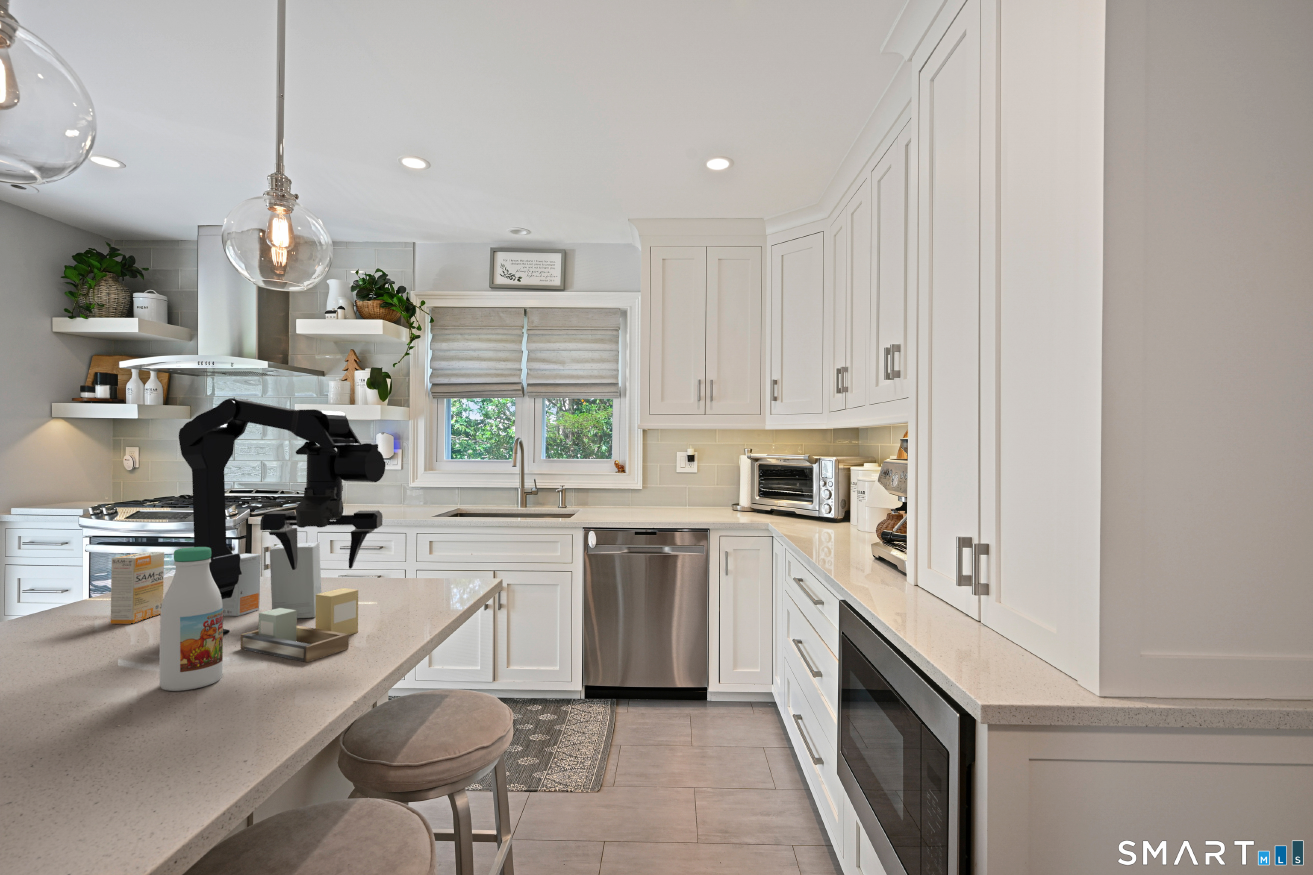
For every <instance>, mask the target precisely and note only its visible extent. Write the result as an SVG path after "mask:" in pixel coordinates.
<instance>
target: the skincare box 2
mask: <svg viewBox="0 0 1313 875" xmlns="http://www.w3.org/2000/svg"><path fill="white" fill-rule="evenodd" d="M297 551H298V561H297V568H296V569H295V570H292V568H291V565H290V562H289V560H288V557H287V554H286V552H285V549H284V547H283V545H282V543H280V544H277V545H275V546H273V547H272V548H270V549H269V564H270V570H269V571H270V590H271V592H270V593H271V595H270V596H271V610H273V609H277V608H284V609H291V610H297V619H309V618H316V594H320V593H322V577H321V574H322V573H321V570H322V569H321V550H320V542H319V541H315V542H313V541H312V542H299V543H298V542H297Z"/></svg>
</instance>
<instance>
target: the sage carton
mask: <svg viewBox="0 0 1313 875" xmlns="http://www.w3.org/2000/svg"><path fill="white" fill-rule="evenodd" d="M297 619H298V618H297V610H291V609H284V608H277V609H273V610H272V609H269V610H265V611H260V612H258V630H259V635H263V636H268V637H274V638H279V639H285V640H290V641H296V632H297V626H298V625H297V623H298V622H297V621H298V620H297Z"/></svg>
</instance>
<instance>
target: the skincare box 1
mask: <svg viewBox="0 0 1313 875" xmlns="http://www.w3.org/2000/svg"><path fill="white" fill-rule="evenodd" d="M239 554H240V557H241V558H240V570H241V572H242V574H241V575H239V581H238V583H237V584H236V585H235V588H234V591H233V594H232V597H231V598H226V599H222V607H223V616H224V617H225V616H226V617H228V616H229V617H230V616H231V617H239V616H242V615H245V614H249V613H253V612H257V611H259V610H260V607H261V606H260V599H261V598H260V597H261V596H260V595H261V594H260V593H261V564H262V563H261V561H262V560H261V554H260V553H259V554H258V553H239ZM256 610H257V611H256Z"/></svg>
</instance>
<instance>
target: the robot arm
mask: <svg viewBox="0 0 1313 875" xmlns="http://www.w3.org/2000/svg"><path fill="white" fill-rule="evenodd" d="M248 424H256V425H260V426H264V427H269V428H275V429H280V430H284V431H285V430H286V431H288V432H289V433H290V432H291V433H292V434H293V435H294V436H296V437H297V438H300V439H303V440H305V442H304V443H303V445H302V446H300V447H299V448H298V449H297V450H296V451H295V454H296V455H301V456H302V455H304V456H305V455H306V482H305V484H306V485H305V487H304V491H303V498H302V499H301V500H300V501H299V503H298V505H297V506H296V507H295V509H294V510H273V511H269V512H266V513H264V514H263V515H262V516H261V518H260V521H259V522H260V529H259V530H260V531H268V534H269V535H270V536H275V537H276V538H277V540H279V542H280V544H282V545H283V547H284V549H285V552H286V554H287V557H288V560H289V562H290V565H291V568H292V570H295V569H296V568H297V561H298V551H297V543H298V528H301V529H302V528H303V529H304V528H306V527H309V528H310V527H317V528H325V527H327V526H353V527H354V529H353V530H351V531H350V547H349V555H348V569H349V570H351V569H353V567H354V564H355V562H356V559H357V557H358V554H359V552H360V549H361V547H362V545H363V542H364V541H365V539H366V537H367V535H369V534H371V533H372V532H374V531H376V530H377V529H379V528H380V527H382V526H383V513H382V512H381V511H380V510H378V509H377V510H375V509H374V510H358V511H355V512H354V513H353V514H344V502H343V491H344V485H343V481H345V482H352V483H353V482H354V483H355V482H357V483H377V482H380V480H381V479H382V478H383V477H384V474H385V470H386V461H385V459H384V456H383V454H382V452H381V451H380V450H379V444H378V443H375V442H374V443H373V442H372V443H367V442H366V443H362V442H361V441H360V440H359V438H358V437H357V435H356V433H355V432H354V430H353V429H352V427H351V425H350V422H349V419H348V418H347V415H346V414H345V413H344V412H343V411H339V410H326V409H294V408H287V407H282V406H277V405H273V404H267V403H261V402H255V401H253V400H251V399H245V398H235V397H233V398H227V399H225V400H222V401H221V402H220V403H219V404H217V406H215V407H213V408H211V409H208V410H207V411H204V412H203V413H200V414H198V415H196V416H195V417H194V418H192V420H189V421H187V422H186V423H184V425H183V426H182V427H180V428H179V432H178V443H179V447H180V448H179V449H180V453H181V456H182V458H183V459H184V460H185V462H186V463H187V465H188V466H189V468H190V469H191V474H192V476H191V477H192V478H191V479H192V481H191V482H192V508H193V509H192V510H193V512H192V514H193V542H194V543H193V544H194V545H193V547H209V548H211V562H210V563H209V568H210V572H211V575H212V578H213V580H214V582H215V583H216V585H217V587H218V589H219V591H220V594H221V598H222V599H226V598H231V597H232V594H233V591H234V588H235V585H236V584H237V583H238V581H239V575H241V574H242V572H241V570H240V558H241V557H240V554H241V553H238V552H237V553H233V551H232V550H231V548H229V547H228V546H229V545H228V544H227V524H226V523H227V518H226V517H227V516H226V491H225V490H226V489H225V488H226V487H225V485H226V484H225V483H226V481H225V468H226V466H227V464H228V463H229V461H230V460H231V458H232V456H233V454H234V447H235V442H236V440H237V439H238V438H240V437H241V436H242V435H243V434H244V433H245V431H246V430H247V426H248ZM293 526H297V527H293ZM229 633H230V629H226V628H223V635H226V634H229Z"/></svg>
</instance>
